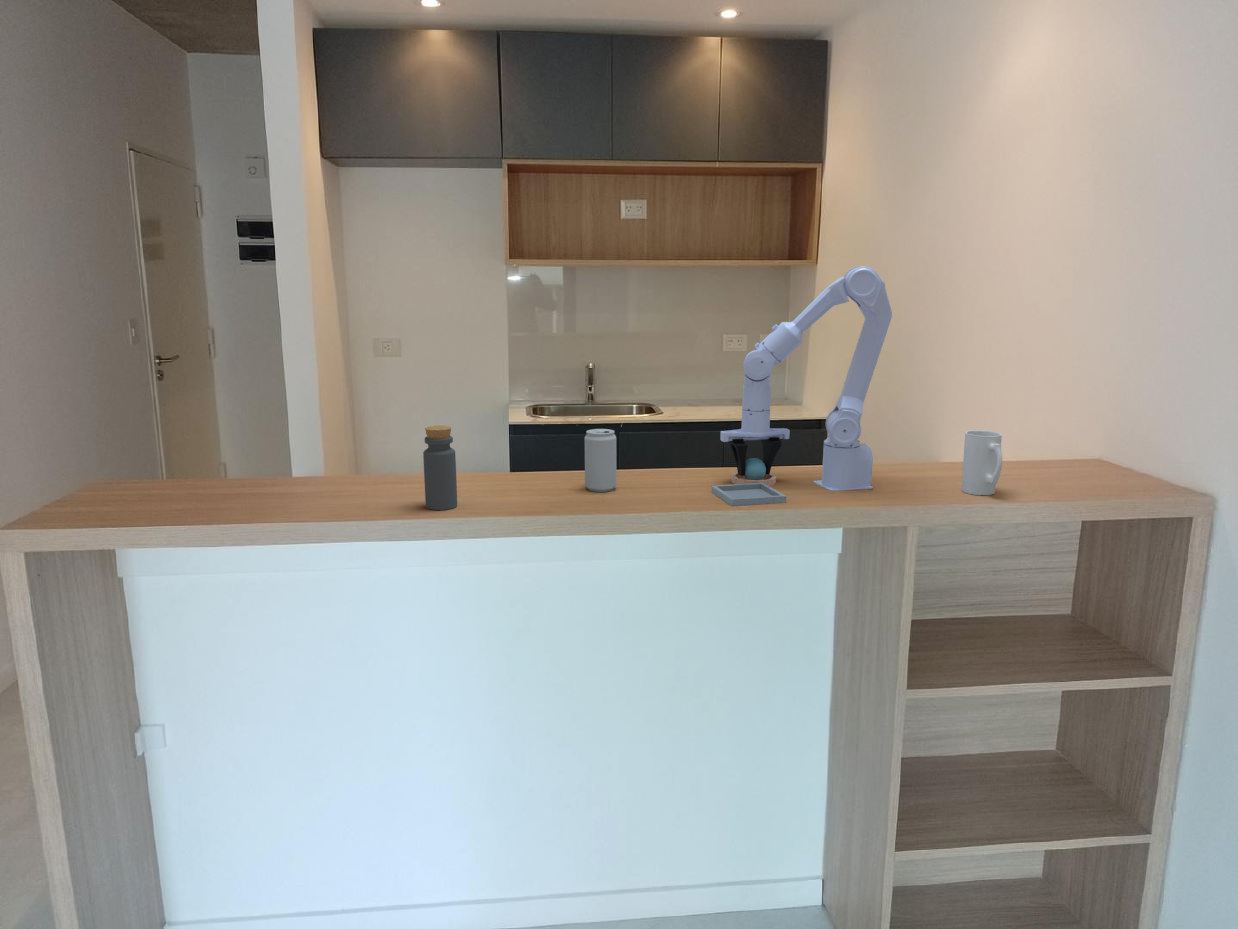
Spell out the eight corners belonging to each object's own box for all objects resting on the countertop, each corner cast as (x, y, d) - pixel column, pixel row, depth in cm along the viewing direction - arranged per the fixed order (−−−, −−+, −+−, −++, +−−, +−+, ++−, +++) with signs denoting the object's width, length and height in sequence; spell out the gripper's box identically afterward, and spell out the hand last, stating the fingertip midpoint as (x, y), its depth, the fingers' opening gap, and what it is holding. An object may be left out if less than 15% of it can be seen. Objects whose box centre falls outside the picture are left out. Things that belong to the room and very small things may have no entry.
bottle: (419, 506, 162) (415, 427, 159) (446, 500, 166) (442, 423, 163) (436, 512, 158) (433, 431, 155) (463, 506, 162) (460, 427, 159)
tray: (762, 490, 175) (763, 482, 174) (786, 504, 164) (786, 496, 164) (711, 493, 172) (711, 485, 172) (731, 507, 162) (731, 499, 161)
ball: (759, 478, 183) (760, 455, 182) (769, 483, 179) (770, 459, 178) (737, 479, 182) (738, 456, 181) (746, 485, 177) (747, 461, 176)
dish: (764, 477, 186) (765, 469, 186) (783, 487, 177) (783, 479, 177) (724, 479, 184) (724, 472, 183) (741, 489, 175) (741, 482, 175)
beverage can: (612, 493, 172) (612, 434, 169) (581, 491, 173) (581, 432, 171) (619, 486, 178) (619, 428, 175) (588, 484, 179) (588, 427, 177)
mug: (953, 488, 177) (958, 430, 174) (983, 487, 178) (989, 429, 175) (981, 501, 167) (987, 440, 164) (1013, 499, 168) (1019, 439, 165)
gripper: (780, 405, 183) (777, 468, 186) (715, 407, 179) (714, 471, 182) (795, 410, 176) (792, 475, 179) (728, 412, 172) (726, 479, 175)
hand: (753, 474), depth 180 cm, fingers closed on ball, 5 cm apart
